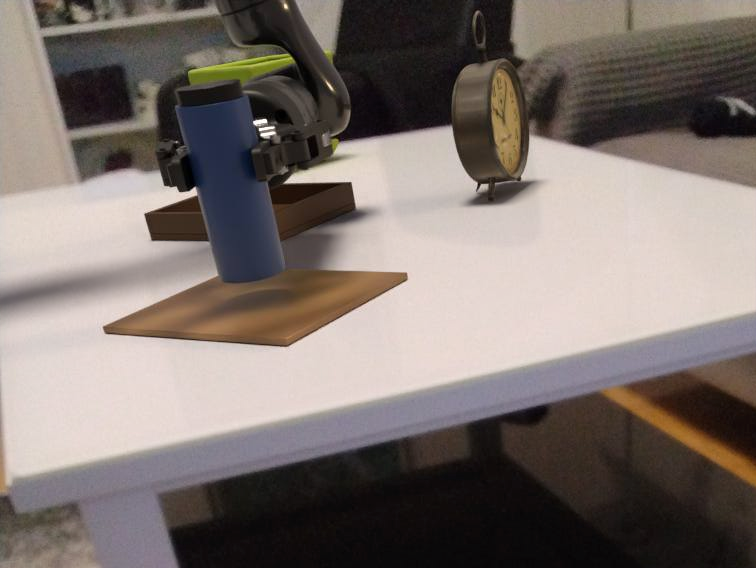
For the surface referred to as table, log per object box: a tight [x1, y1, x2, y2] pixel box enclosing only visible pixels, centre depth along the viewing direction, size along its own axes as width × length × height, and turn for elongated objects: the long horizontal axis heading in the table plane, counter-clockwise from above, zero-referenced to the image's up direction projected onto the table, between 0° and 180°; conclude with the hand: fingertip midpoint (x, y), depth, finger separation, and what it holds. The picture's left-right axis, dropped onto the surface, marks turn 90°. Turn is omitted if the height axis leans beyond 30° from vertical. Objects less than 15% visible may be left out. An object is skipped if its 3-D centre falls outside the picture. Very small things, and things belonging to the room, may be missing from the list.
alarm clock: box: [450, 10, 530, 202], centre depth 102 cm, size 11×5×16 cm, turn 159°
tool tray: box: [143, 181, 357, 242], centre depth 106 cm, size 17×13×3 cm
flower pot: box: [187, 50, 339, 162], centre depth 134 cm, size 14×14×13 cm
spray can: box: [174, 79, 287, 283], centre depth 75 cm, size 5×5×13 cm
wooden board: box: [102, 268, 409, 347], centre depth 80 cm, size 18×16×1 cm
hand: (219, 171), depth 73 cm, fingers closed on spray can, 5 cm apart
